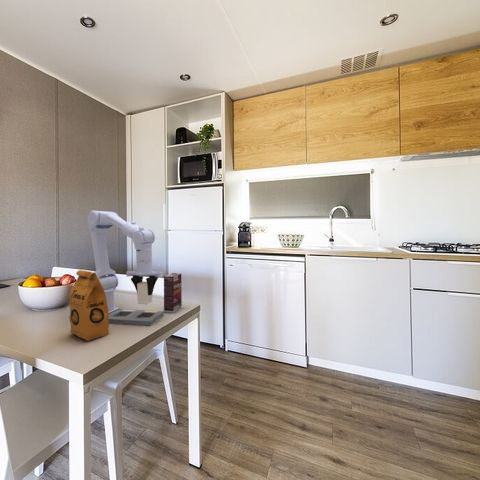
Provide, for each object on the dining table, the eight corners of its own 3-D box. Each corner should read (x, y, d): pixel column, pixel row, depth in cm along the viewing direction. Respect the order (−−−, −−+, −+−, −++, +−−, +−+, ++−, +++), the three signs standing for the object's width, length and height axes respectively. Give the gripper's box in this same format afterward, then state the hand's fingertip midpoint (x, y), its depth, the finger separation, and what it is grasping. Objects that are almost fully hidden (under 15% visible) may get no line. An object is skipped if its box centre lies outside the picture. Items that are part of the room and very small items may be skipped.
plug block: (137, 303, 94) (137, 283, 94) (143, 300, 98) (142, 281, 98) (147, 304, 94) (146, 284, 93) (152, 301, 98) (151, 281, 97)
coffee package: (81, 345, 76) (79, 275, 75) (66, 334, 83) (64, 271, 82) (113, 333, 84) (112, 271, 82) (97, 325, 91) (95, 267, 90)
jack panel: (101, 323, 93) (101, 318, 93) (119, 313, 104) (119, 308, 104) (150, 325, 90) (150, 320, 90) (163, 315, 101) (163, 310, 101)
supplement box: (173, 313, 104) (173, 276, 103) (163, 312, 105) (162, 276, 104) (182, 306, 112) (182, 273, 111) (172, 306, 113) (172, 272, 112)
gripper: (121, 261, 92) (121, 296, 93) (156, 262, 90) (157, 298, 91) (131, 259, 99) (132, 291, 100) (165, 259, 97) (165, 293, 98)
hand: (145, 294), depth 96 cm, fingers closed on plug block, 4 cm apart
